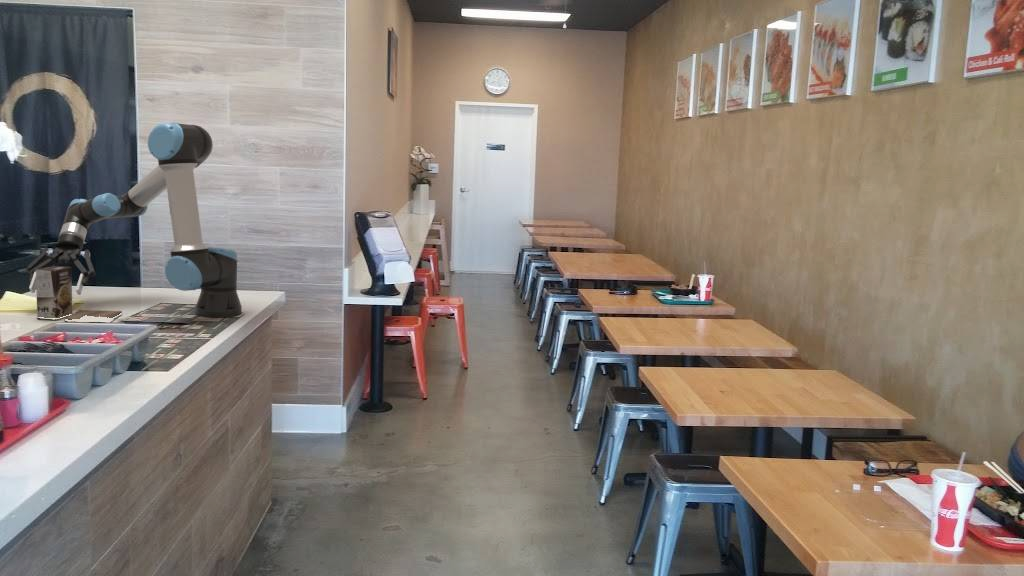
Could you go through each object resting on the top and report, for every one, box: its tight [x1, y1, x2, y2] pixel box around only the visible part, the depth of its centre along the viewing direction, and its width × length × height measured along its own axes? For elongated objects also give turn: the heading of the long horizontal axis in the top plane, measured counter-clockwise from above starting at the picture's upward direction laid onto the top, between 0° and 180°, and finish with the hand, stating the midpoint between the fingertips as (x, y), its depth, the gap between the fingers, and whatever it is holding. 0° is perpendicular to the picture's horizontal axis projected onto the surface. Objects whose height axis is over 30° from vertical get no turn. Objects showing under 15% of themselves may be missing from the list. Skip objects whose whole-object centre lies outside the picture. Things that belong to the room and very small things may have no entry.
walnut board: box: [64, 309, 123, 320], centre depth 245 cm, size 13×13×1 cm
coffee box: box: [35, 265, 73, 318], centre depth 242 cm, size 9×6×16 cm
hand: (54, 291), depth 243 cm, fingers open, 13 cm apart
